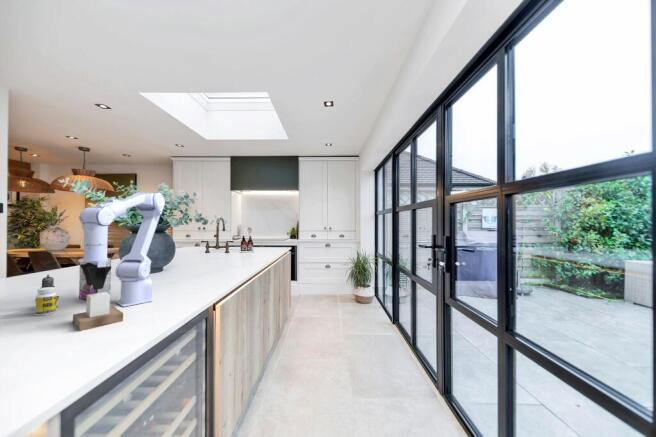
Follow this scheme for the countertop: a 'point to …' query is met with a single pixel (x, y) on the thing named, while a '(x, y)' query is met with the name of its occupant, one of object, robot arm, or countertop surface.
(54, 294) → the supplement bottle
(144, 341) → the countertop surface
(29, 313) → the countertop surface
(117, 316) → the walnut block
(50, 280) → the salt shaker
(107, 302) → the white small block
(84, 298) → the candy bar box
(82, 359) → the countertop surface
